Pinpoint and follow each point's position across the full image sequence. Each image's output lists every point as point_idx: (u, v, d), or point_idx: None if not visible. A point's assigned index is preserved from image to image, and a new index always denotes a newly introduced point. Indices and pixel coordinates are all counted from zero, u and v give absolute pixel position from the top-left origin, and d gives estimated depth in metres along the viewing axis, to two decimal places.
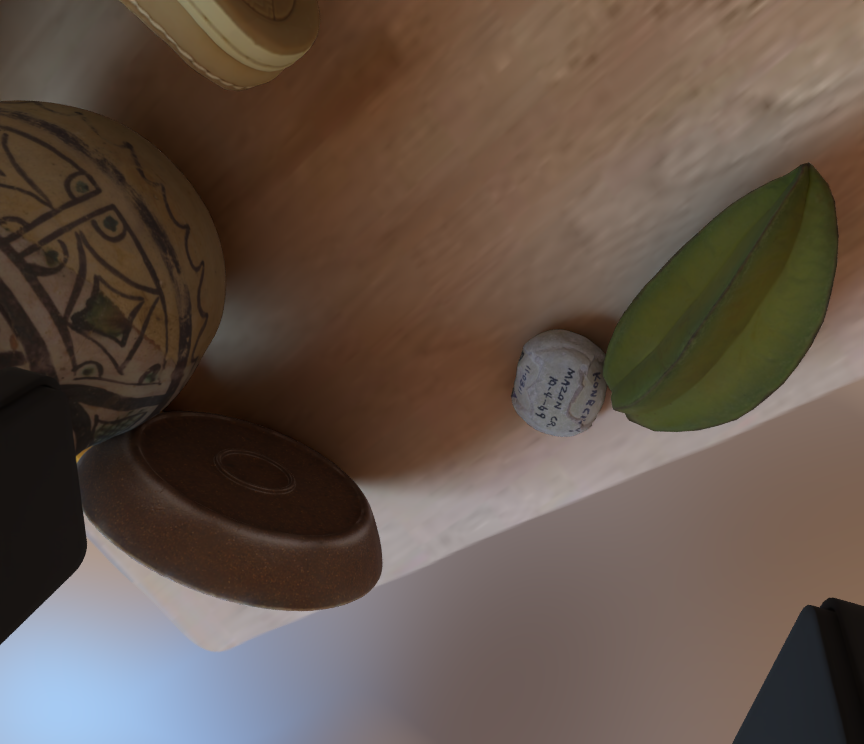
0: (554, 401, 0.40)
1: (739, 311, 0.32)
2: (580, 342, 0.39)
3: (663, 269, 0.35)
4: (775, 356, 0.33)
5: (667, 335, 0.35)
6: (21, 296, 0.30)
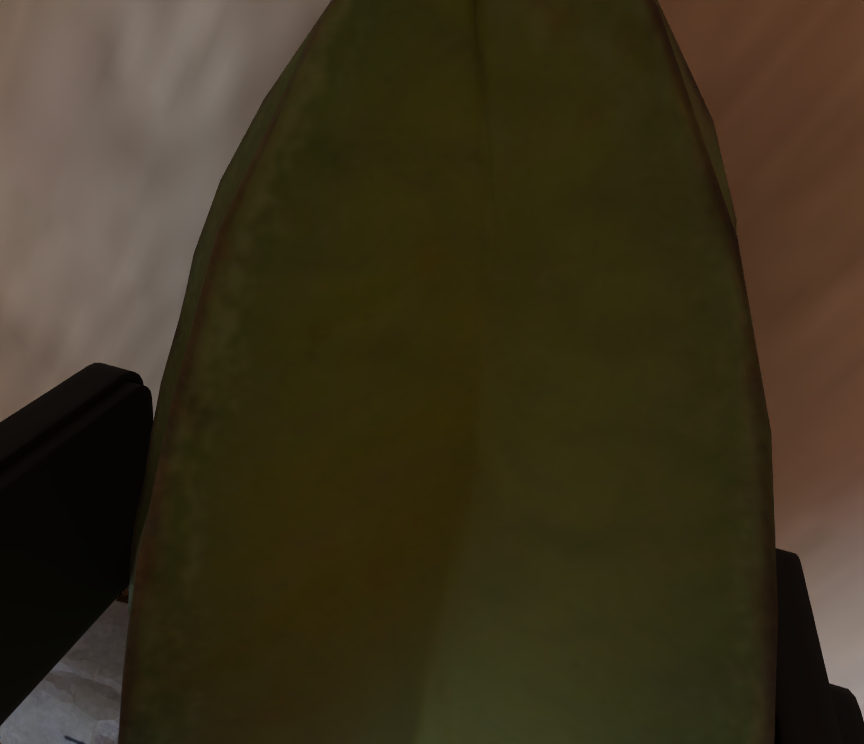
0: None
1: (311, 725, 0.06)
2: (98, 648, 0.13)
3: (146, 472, 0.09)
4: None
5: None
6: None
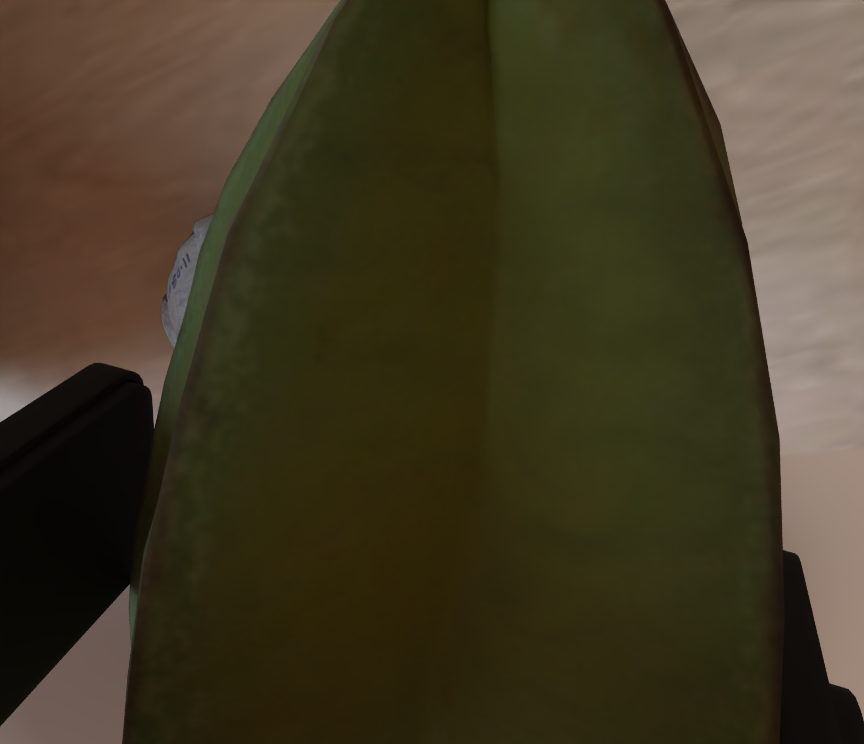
0: None
1: (315, 725, 0.06)
2: None
3: (149, 471, 0.09)
4: None
5: None
6: None
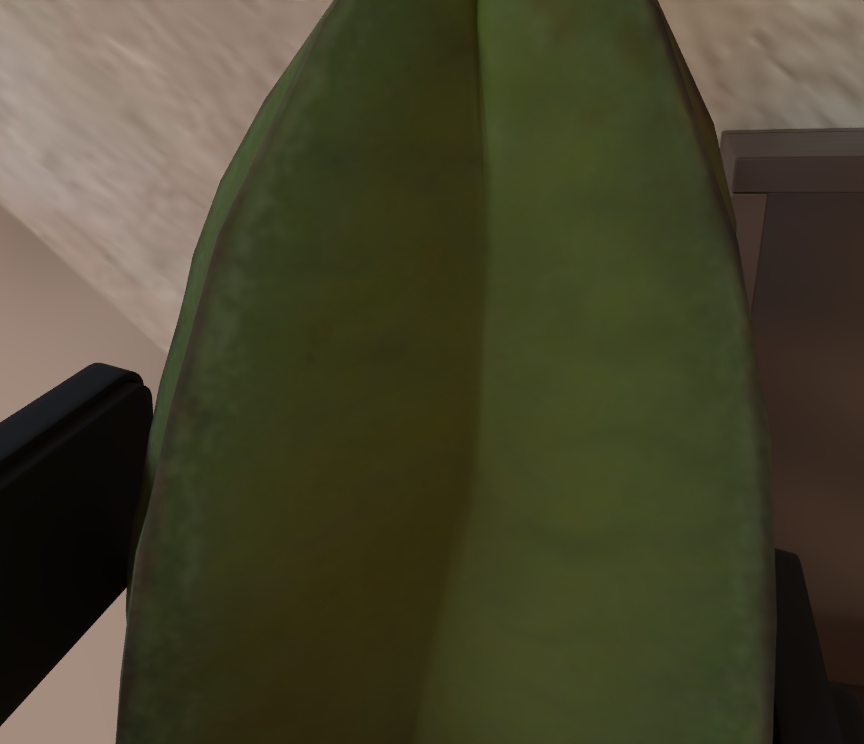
0: None
1: (309, 726, 0.06)
2: None
3: (145, 472, 0.09)
4: None
5: None
6: None
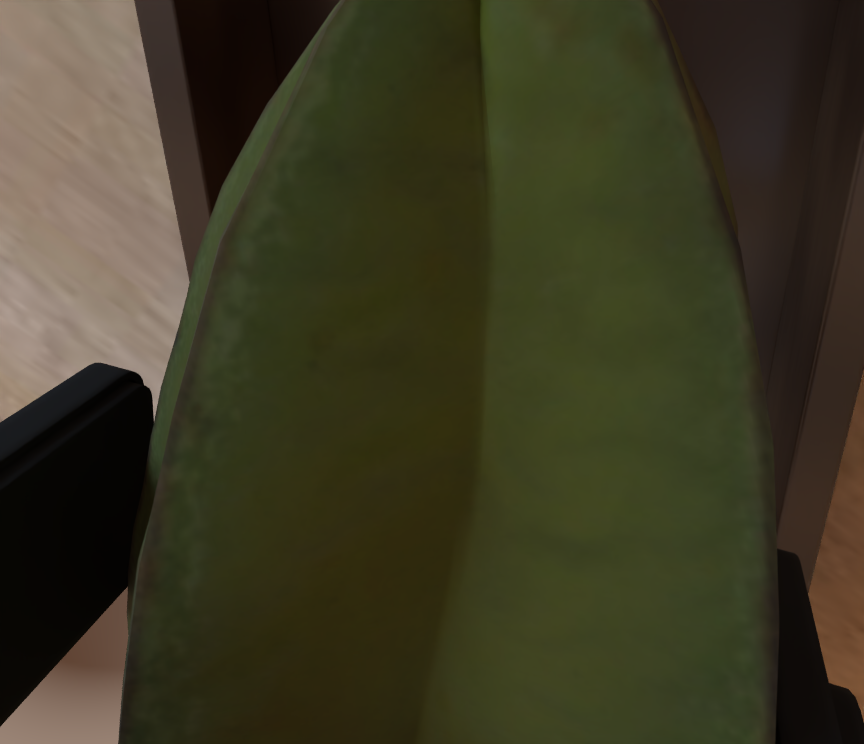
0: None
1: (311, 731, 0.06)
2: None
3: (146, 475, 0.09)
4: None
5: None
6: None
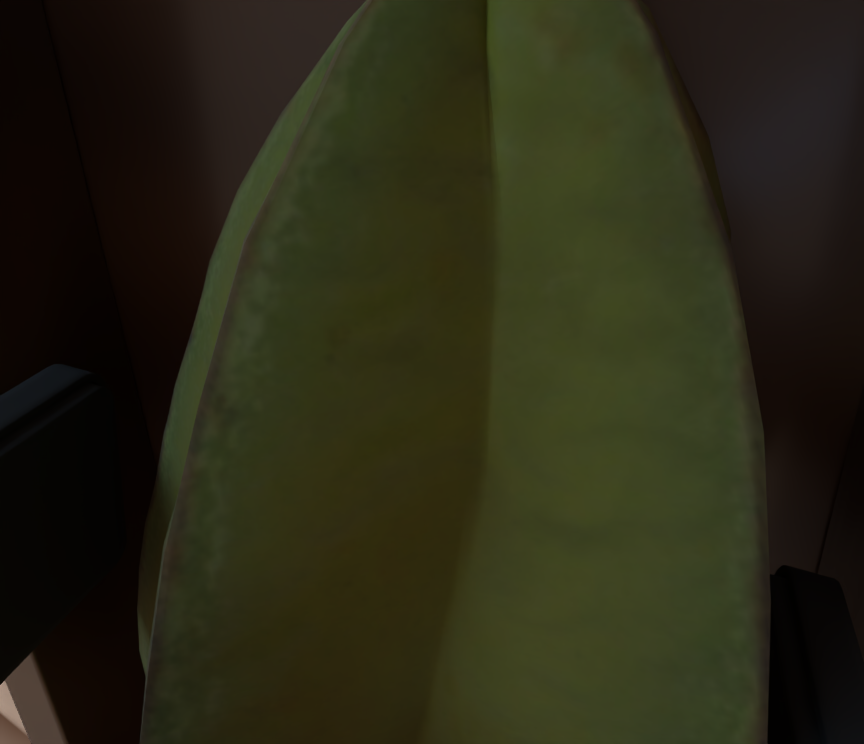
0: None
1: (324, 712, 0.06)
2: None
3: (158, 473, 0.09)
4: None
5: None
6: None
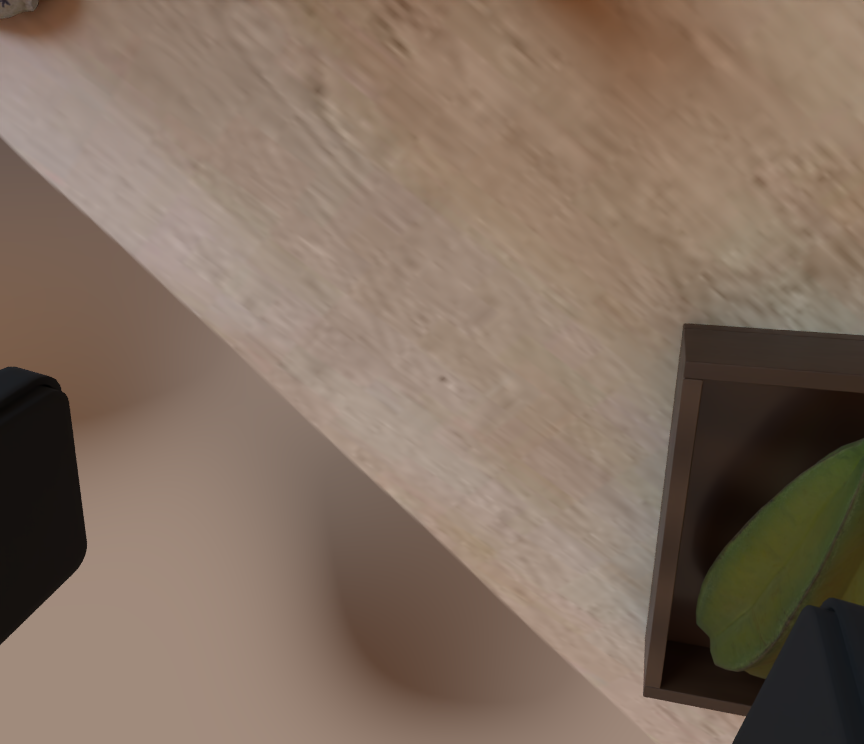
0: None
1: (834, 586, 0.31)
2: None
3: (742, 531, 0.34)
4: None
5: (760, 600, 0.33)
6: None
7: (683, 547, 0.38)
